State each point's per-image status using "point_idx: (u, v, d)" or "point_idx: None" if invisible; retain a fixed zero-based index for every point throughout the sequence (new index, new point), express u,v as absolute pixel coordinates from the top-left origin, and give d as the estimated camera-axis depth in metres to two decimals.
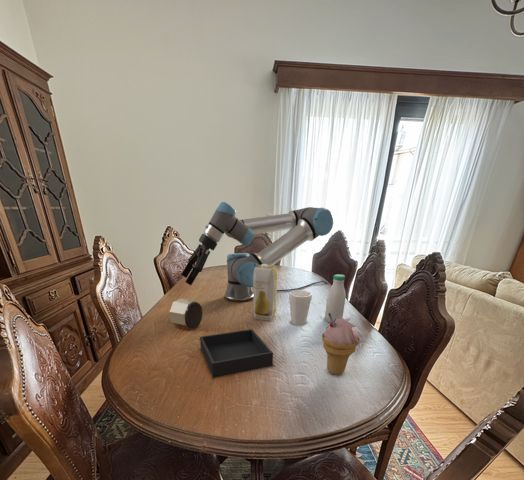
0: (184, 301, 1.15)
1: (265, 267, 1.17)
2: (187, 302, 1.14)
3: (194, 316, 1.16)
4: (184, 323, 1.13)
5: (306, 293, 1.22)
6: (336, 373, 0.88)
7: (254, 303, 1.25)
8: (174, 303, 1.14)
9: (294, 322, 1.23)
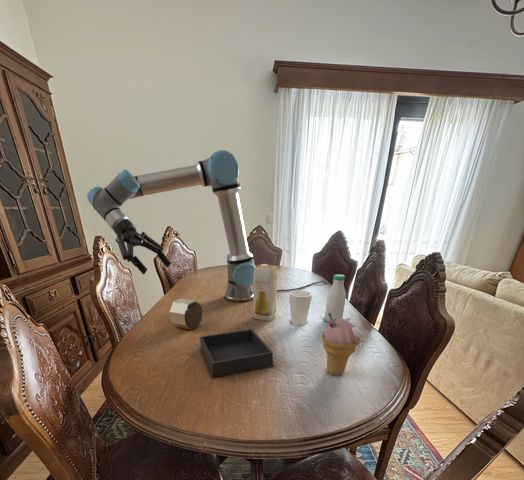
0: (184, 301, 1.15)
1: (265, 267, 1.17)
2: (187, 302, 1.14)
3: (194, 316, 1.16)
4: (184, 323, 1.13)
5: (306, 293, 1.22)
6: (336, 373, 0.88)
7: (254, 303, 1.25)
8: (174, 303, 1.14)
9: (294, 322, 1.23)
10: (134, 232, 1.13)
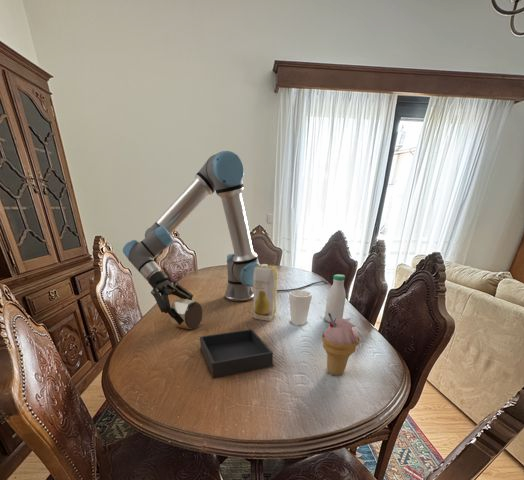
0: (184, 301, 1.15)
1: (265, 267, 1.17)
2: (187, 302, 1.14)
3: (194, 316, 1.16)
4: (184, 323, 1.13)
5: (306, 293, 1.22)
6: (336, 373, 0.88)
7: (254, 303, 1.25)
8: (174, 303, 1.14)
9: (294, 322, 1.23)
10: (167, 282, 1.17)
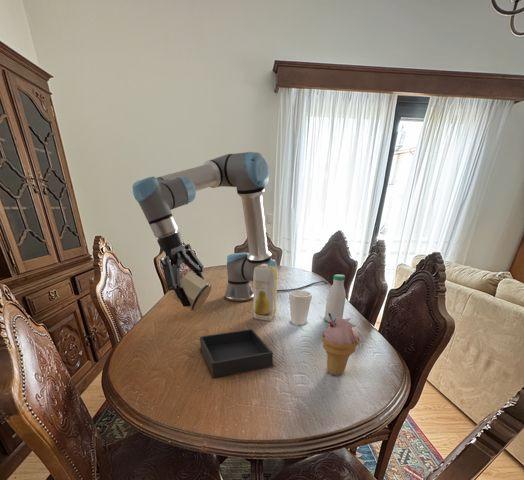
0: (196, 280, 0.95)
1: (265, 267, 1.17)
2: (200, 284, 0.95)
3: (202, 299, 1.00)
4: (190, 307, 0.97)
5: (306, 293, 1.22)
6: (336, 373, 0.88)
7: (254, 303, 1.25)
8: (184, 279, 0.94)
9: (294, 322, 1.23)
10: (180, 246, 0.93)
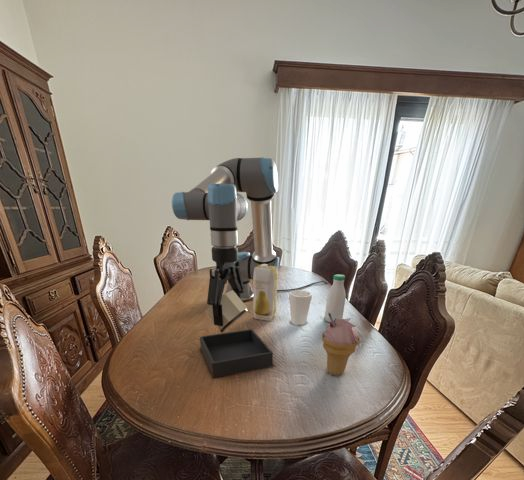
0: (236, 301, 0.87)
1: (265, 267, 1.17)
2: (239, 307, 0.87)
3: None
4: (220, 327, 0.87)
5: (306, 293, 1.22)
6: (336, 373, 0.88)
7: (254, 303, 1.25)
8: (224, 297, 0.85)
9: (294, 322, 1.23)
10: (232, 262, 0.85)
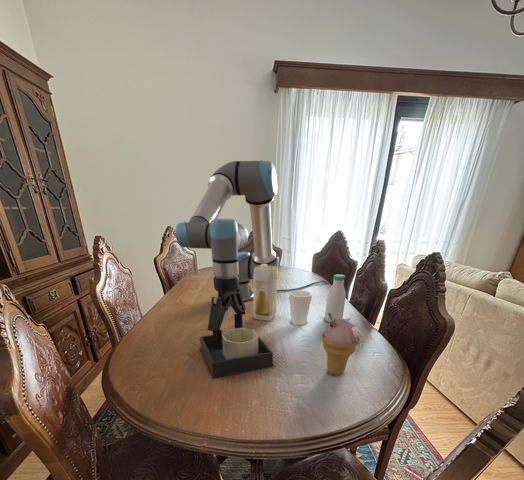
0: (254, 349, 0.92)
1: (265, 267, 1.17)
2: None
3: None
4: None
5: (306, 293, 1.22)
6: (336, 373, 0.88)
7: (254, 303, 1.25)
8: (249, 343, 0.89)
9: (294, 322, 1.23)
10: None
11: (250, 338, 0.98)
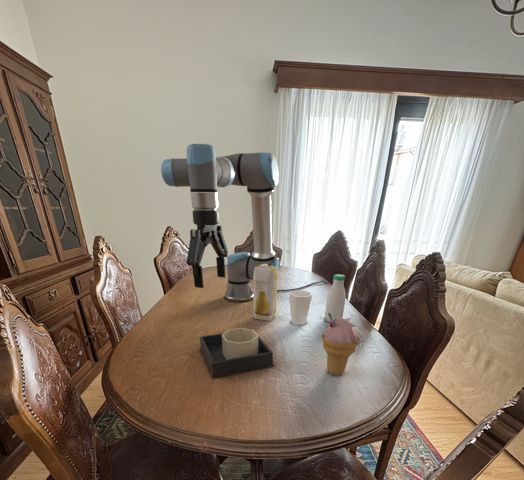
0: (254, 349, 0.92)
1: (265, 267, 1.17)
2: None
3: None
4: None
5: (306, 293, 1.22)
6: (336, 373, 0.88)
7: (254, 303, 1.25)
8: (249, 343, 0.89)
9: (294, 322, 1.23)
10: (213, 226, 0.87)
11: (250, 338, 0.98)
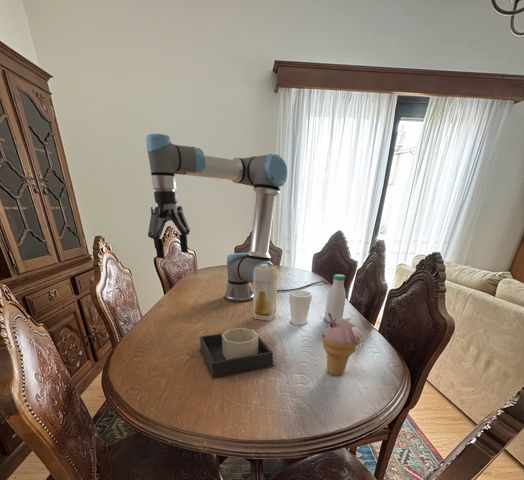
0: (254, 349, 0.92)
1: (265, 267, 1.17)
2: None
3: None
4: None
5: (306, 293, 1.22)
6: (336, 373, 0.88)
7: (254, 303, 1.25)
8: (249, 343, 0.89)
9: (294, 322, 1.23)
10: (173, 205, 1.01)
11: (250, 338, 0.98)
